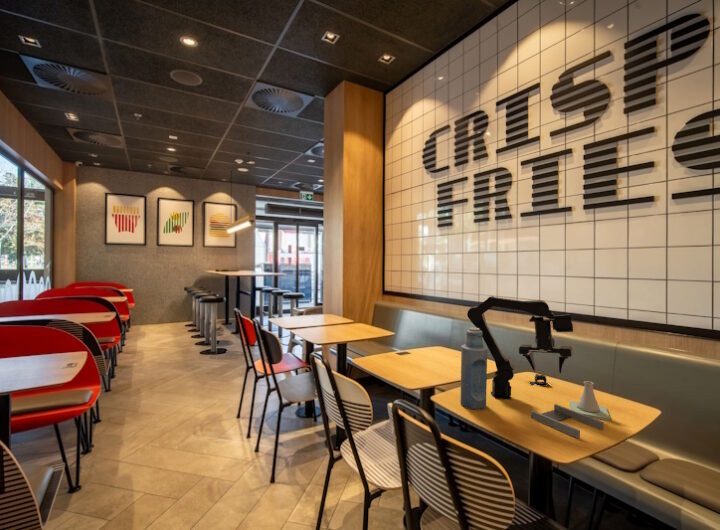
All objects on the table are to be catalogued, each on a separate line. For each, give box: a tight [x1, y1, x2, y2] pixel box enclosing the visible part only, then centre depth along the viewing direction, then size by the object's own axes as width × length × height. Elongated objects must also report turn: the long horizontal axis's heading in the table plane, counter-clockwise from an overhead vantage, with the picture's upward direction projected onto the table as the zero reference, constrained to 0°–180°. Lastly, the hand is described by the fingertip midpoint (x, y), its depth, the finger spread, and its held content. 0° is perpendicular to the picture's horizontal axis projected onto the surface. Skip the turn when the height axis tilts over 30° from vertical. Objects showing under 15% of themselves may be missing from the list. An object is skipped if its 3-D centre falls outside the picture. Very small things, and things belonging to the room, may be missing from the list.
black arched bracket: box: [528, 373, 550, 387], centre depth 167 cm, size 12×7×5 cm, turn 80°
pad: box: [569, 400, 611, 421], centre depth 138 cm, size 12×12×1 cm
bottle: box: [459, 327, 488, 410], centre depth 142 cm, size 10×10×30 cm
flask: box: [577, 380, 600, 412], centre depth 138 cm, size 7×7×10 cm
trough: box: [530, 403, 604, 440], centre depth 127 cm, size 17×14×2 cm
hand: (547, 372), depth 145 cm, fingers open, 9 cm apart
